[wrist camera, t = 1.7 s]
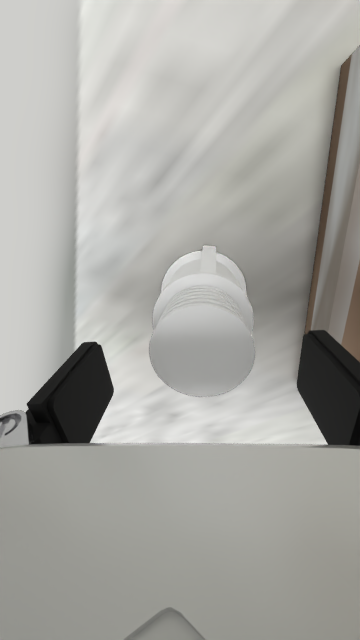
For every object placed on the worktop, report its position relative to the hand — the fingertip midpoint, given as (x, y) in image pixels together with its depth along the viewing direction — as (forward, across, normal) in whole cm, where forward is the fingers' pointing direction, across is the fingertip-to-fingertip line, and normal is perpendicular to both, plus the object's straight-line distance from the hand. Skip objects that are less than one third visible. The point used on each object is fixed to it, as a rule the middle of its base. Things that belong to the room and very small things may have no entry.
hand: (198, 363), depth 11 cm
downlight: (+10, 0, 0) cm, 10 cm away
